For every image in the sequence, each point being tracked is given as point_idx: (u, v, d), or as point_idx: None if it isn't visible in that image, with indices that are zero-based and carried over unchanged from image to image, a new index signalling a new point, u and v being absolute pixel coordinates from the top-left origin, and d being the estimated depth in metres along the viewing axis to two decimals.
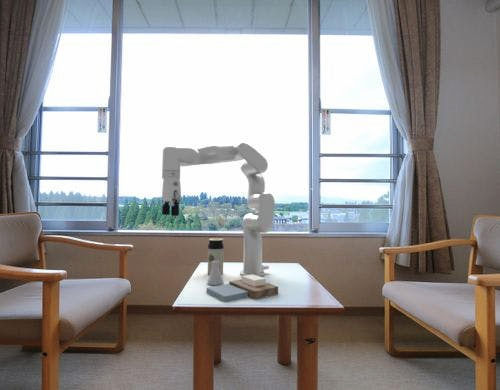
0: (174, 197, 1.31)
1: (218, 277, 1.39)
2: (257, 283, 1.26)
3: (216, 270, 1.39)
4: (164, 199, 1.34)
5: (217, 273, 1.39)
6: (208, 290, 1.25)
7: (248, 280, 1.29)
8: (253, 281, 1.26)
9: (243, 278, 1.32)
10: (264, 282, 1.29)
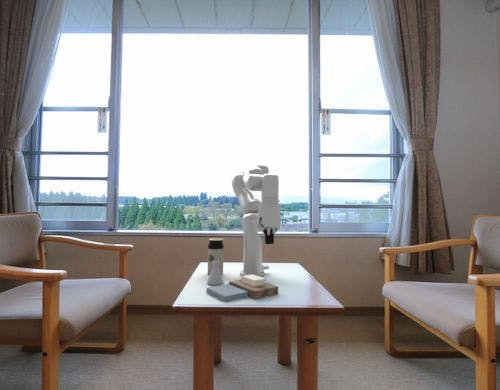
0: None
1: (218, 277, 1.39)
2: (257, 283, 1.26)
3: (216, 270, 1.39)
4: (269, 226, 1.34)
5: (217, 273, 1.39)
6: (208, 290, 1.25)
7: (248, 280, 1.29)
8: (253, 281, 1.26)
9: (243, 278, 1.32)
10: (264, 282, 1.29)
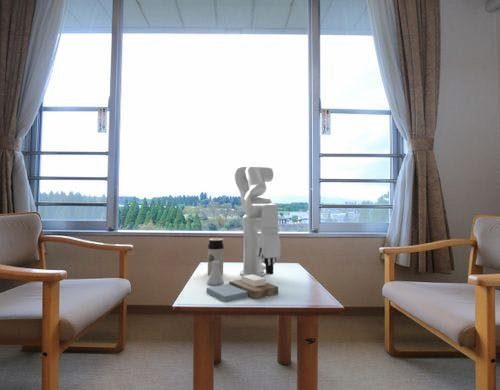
0: None
1: (218, 277, 1.39)
2: (257, 283, 1.26)
3: (216, 270, 1.39)
4: (269, 256, 1.33)
5: (217, 273, 1.39)
6: (208, 290, 1.25)
7: (248, 280, 1.29)
8: (253, 281, 1.26)
9: (243, 278, 1.32)
10: (264, 282, 1.29)
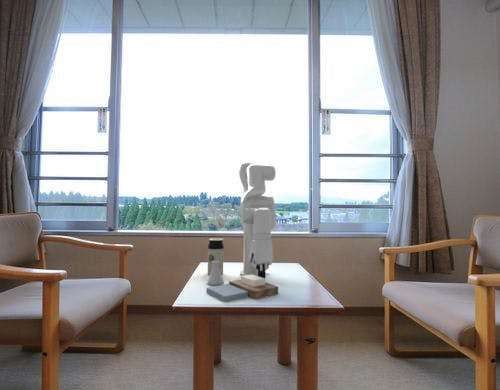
0: None
1: (218, 277, 1.39)
2: (256, 283, 1.26)
3: (216, 270, 1.39)
4: (261, 262, 1.31)
5: (217, 273, 1.39)
6: (208, 290, 1.25)
7: (247, 280, 1.29)
8: (252, 281, 1.26)
9: (242, 278, 1.31)
10: (263, 282, 1.28)
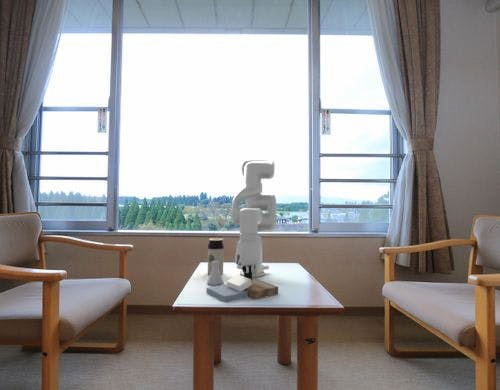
0: None
1: (218, 277, 1.39)
2: (242, 287, 1.22)
3: (216, 270, 1.39)
4: (247, 264, 1.27)
5: (217, 273, 1.39)
6: (208, 290, 1.25)
7: (233, 285, 1.24)
8: (238, 286, 1.22)
9: (228, 283, 1.27)
10: (250, 283, 1.24)
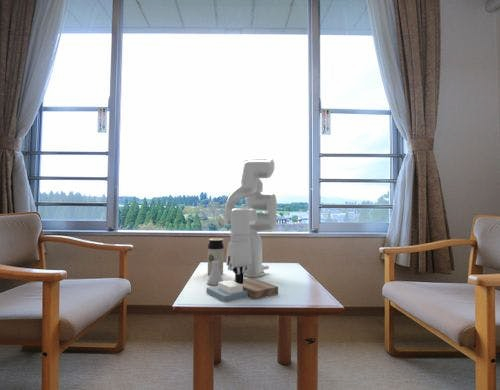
0: None
1: (218, 277, 1.39)
2: (233, 290, 1.20)
3: (216, 270, 1.39)
4: (238, 265, 1.24)
5: (217, 273, 1.39)
6: (208, 290, 1.25)
7: (224, 287, 1.22)
8: (229, 288, 1.19)
9: (219, 284, 1.25)
10: (241, 289, 1.22)
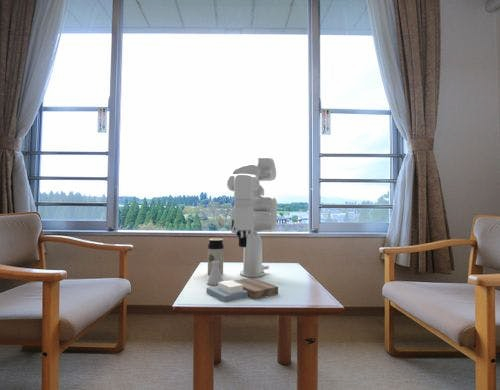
0: None
1: (218, 277, 1.39)
2: (233, 290, 1.20)
3: (216, 270, 1.39)
4: (242, 228, 1.28)
5: (217, 273, 1.39)
6: (208, 290, 1.25)
7: (224, 287, 1.22)
8: (229, 288, 1.19)
9: (219, 284, 1.25)
10: (241, 289, 1.22)
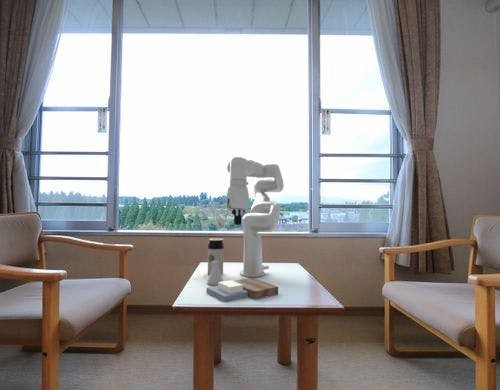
0: None
1: (218, 277, 1.39)
2: (233, 290, 1.20)
3: (216, 270, 1.39)
4: (237, 207, 1.37)
5: (217, 273, 1.39)
6: (208, 290, 1.25)
7: (224, 287, 1.22)
8: (229, 288, 1.19)
9: (219, 284, 1.25)
10: (241, 289, 1.22)
